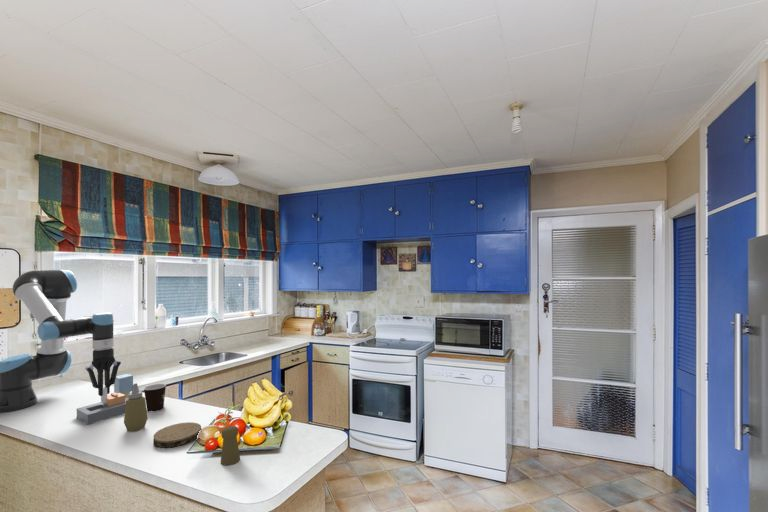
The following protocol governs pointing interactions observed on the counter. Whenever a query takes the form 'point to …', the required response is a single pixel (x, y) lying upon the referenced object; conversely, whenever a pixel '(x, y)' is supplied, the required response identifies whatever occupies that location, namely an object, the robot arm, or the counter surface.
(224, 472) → the counter surface
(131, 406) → the squeeze bottle
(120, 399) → the orange ridged block
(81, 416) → the socket plate
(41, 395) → the counter surface
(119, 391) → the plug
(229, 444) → the pepper mill
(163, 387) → the coffee mug
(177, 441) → the brown round disc
